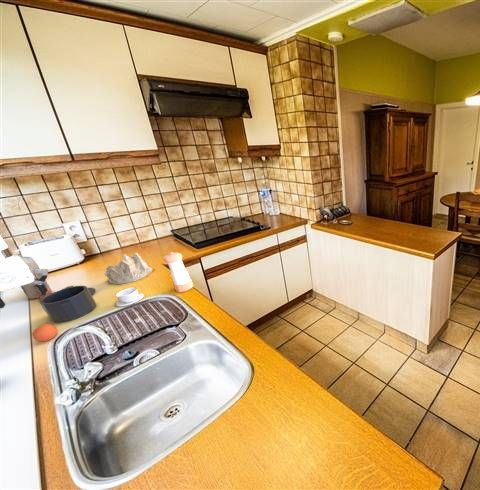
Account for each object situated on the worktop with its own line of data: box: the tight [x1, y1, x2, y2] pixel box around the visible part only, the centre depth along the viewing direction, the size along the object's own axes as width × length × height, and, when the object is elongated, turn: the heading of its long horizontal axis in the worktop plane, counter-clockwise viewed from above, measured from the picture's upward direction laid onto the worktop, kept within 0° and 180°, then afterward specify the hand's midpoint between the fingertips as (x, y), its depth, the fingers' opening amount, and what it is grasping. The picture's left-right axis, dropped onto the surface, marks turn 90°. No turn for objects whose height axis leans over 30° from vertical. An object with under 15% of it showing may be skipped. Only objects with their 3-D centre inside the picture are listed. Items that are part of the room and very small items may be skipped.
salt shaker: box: [163, 251, 194, 293], centre depth 125 cm, size 7×7×19 cm
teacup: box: [115, 287, 145, 307], centre depth 120 cm, size 10×10×5 cm
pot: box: [39, 285, 98, 324], centre depth 113 cm, size 14×19×10 cm
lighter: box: [32, 284, 53, 301], centre depth 124 cm, size 8×3×10 cm, turn 73°
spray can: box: [19, 256, 53, 300], centre depth 126 cm, size 8×8×20 cm
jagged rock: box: [104, 252, 154, 285], centre depth 140 cm, size 16×16×15 cm
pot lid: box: [65, 285, 97, 296], centre depth 124 cm, size 15×15×6 cm
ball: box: [31, 323, 59, 342], centre depth 98 cm, size 6×6×6 cm
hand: (24, 299), depth 93 cm, fingers open, 9 cm apart
